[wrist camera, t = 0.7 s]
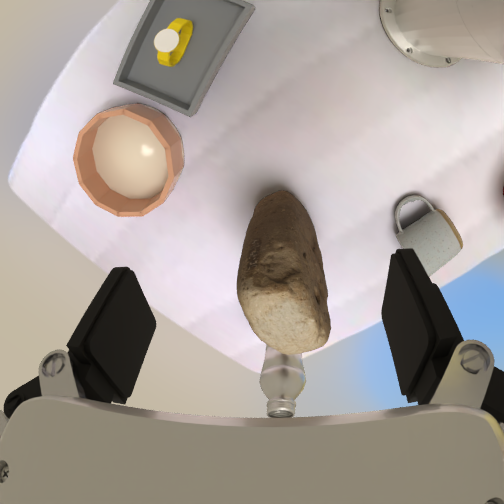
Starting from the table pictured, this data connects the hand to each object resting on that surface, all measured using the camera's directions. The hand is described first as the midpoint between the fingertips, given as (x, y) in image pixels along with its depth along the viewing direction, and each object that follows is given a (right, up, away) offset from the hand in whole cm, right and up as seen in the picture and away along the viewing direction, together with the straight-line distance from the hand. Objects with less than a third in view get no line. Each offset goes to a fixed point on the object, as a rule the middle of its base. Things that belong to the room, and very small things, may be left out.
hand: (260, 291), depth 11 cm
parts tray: (-8, +26, +19) cm, 33 cm away
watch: (-8, +26, +19) cm, 33 cm away
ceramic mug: (+24, +6, +30) cm, 39 cm away
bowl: (-16, +15, +28) cm, 35 cm away
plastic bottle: (+5, -8, +42) cm, 43 cm away
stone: (+5, +6, +32) cm, 33 cm away
